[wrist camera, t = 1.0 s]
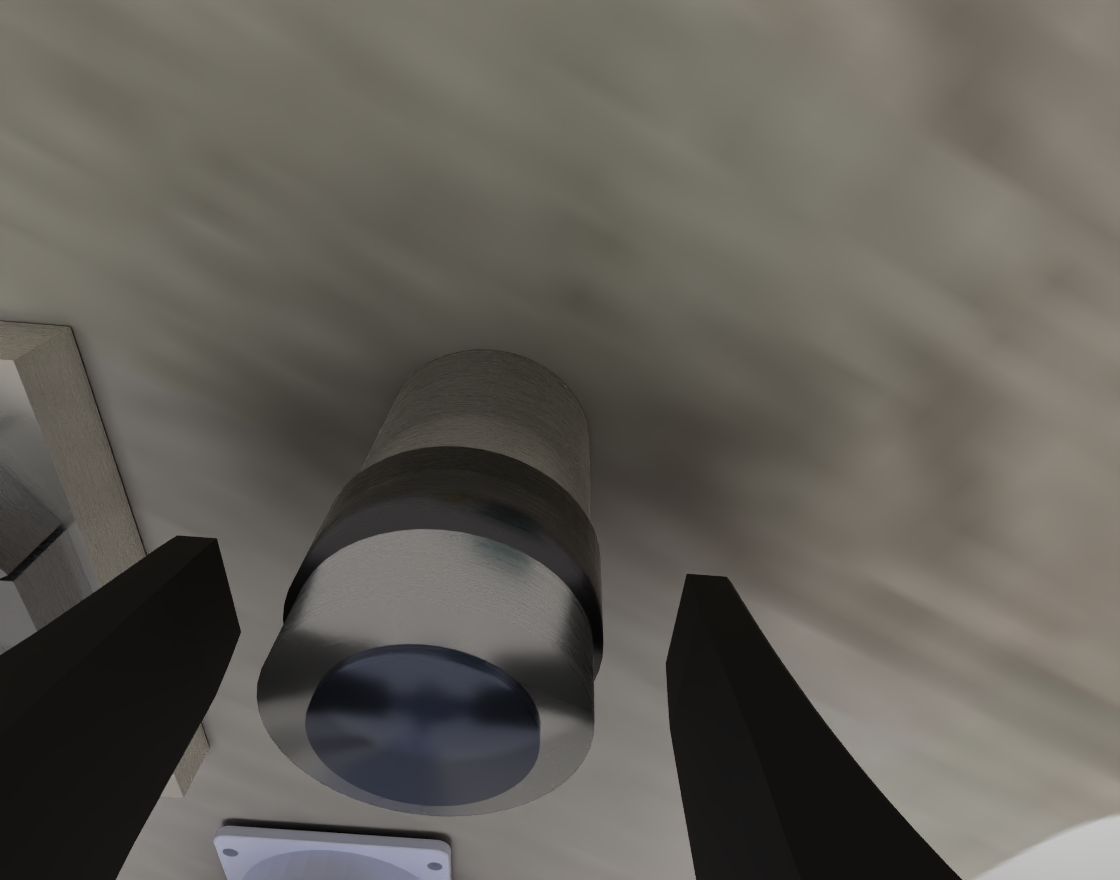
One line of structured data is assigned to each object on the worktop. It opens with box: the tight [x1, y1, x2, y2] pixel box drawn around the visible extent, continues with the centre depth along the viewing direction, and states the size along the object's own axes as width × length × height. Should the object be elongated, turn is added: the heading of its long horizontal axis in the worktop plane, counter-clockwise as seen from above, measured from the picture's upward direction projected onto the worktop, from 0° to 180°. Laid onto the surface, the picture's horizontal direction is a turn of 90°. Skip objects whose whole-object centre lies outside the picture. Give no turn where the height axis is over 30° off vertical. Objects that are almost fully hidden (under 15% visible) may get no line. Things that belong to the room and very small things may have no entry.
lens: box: [257, 350, 603, 816], centre depth 12 cm, size 5×5×7 cm
